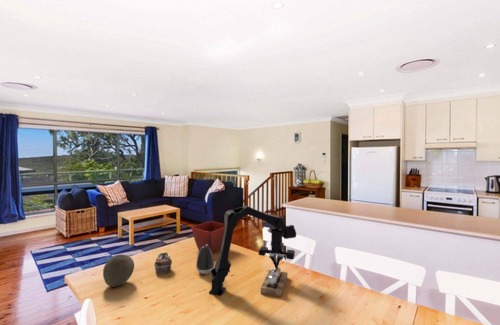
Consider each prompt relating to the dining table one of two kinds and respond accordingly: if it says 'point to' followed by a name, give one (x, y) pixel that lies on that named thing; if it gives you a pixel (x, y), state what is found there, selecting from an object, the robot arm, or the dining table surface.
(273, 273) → the plug metal mid
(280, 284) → the brown wooden tray
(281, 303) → the dining table surface
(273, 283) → the plug metal near
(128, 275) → the dark grey stone
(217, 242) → the plant pot
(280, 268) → the peach egg-shaped piece
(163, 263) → the cupcake
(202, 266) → the dark grey ovoid piece
